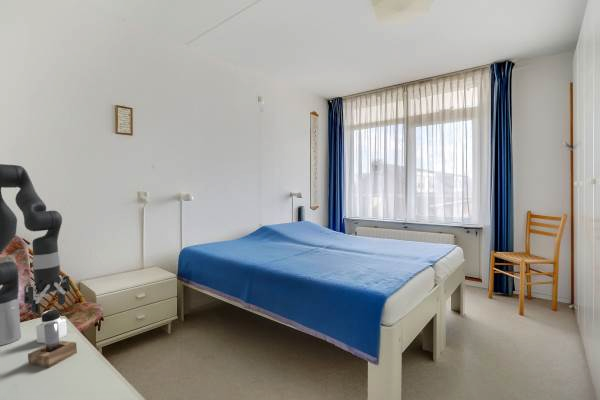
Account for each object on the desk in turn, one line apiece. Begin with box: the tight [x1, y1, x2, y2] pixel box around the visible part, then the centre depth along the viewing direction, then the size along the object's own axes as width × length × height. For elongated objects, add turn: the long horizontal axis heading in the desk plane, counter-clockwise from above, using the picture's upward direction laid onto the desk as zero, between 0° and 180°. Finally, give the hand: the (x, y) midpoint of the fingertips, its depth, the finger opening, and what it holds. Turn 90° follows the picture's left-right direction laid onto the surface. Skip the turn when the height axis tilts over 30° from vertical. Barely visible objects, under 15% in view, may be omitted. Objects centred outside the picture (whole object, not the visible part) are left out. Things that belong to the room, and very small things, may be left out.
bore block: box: [27, 340, 78, 369], centre depth 113 cm, size 10×10×4 cm
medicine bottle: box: [35, 308, 68, 344], centre depth 129 cm, size 7×7×12 cm
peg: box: [44, 322, 60, 353], centre depth 113 cm, size 4×4×12 cm
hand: (49, 308), depth 113 cm, fingers open, 8 cm apart
